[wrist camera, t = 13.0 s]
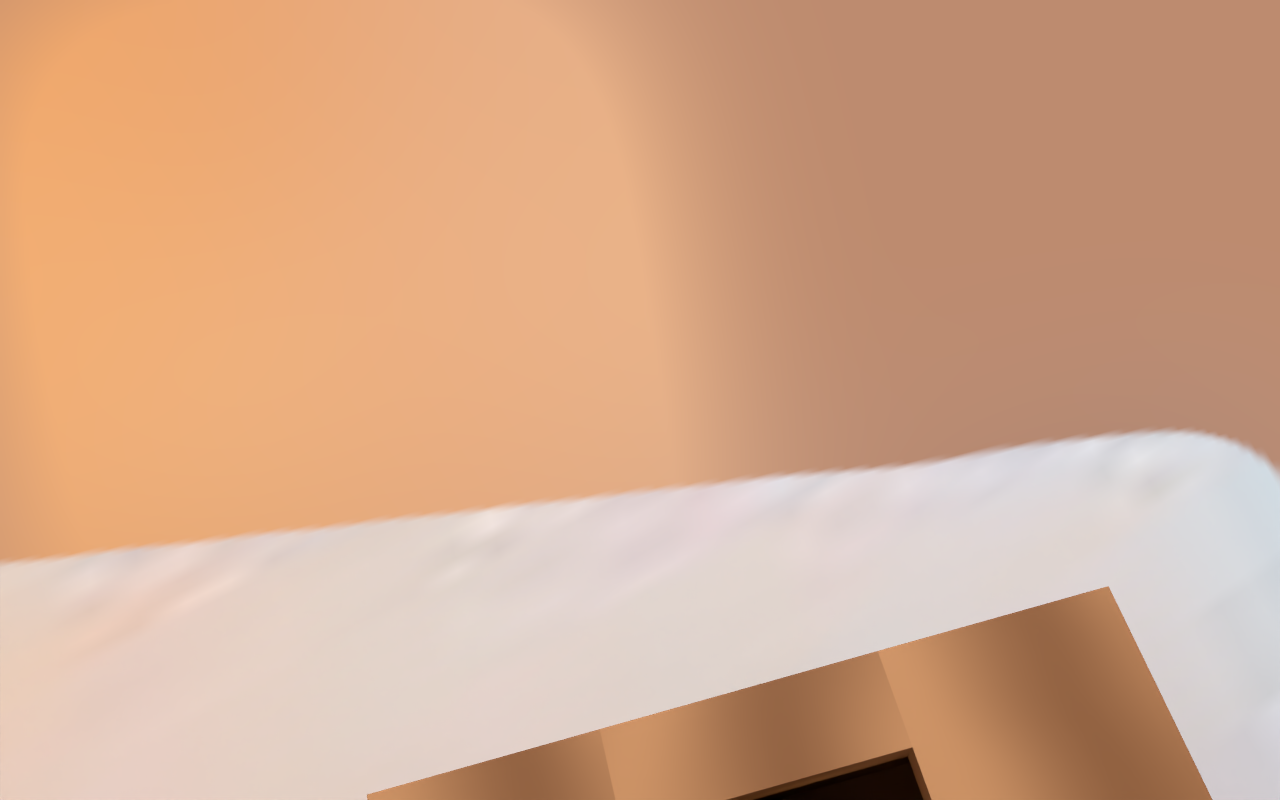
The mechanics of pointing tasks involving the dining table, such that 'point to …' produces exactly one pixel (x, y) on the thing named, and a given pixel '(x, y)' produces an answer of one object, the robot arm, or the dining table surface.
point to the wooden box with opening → (890, 728)
